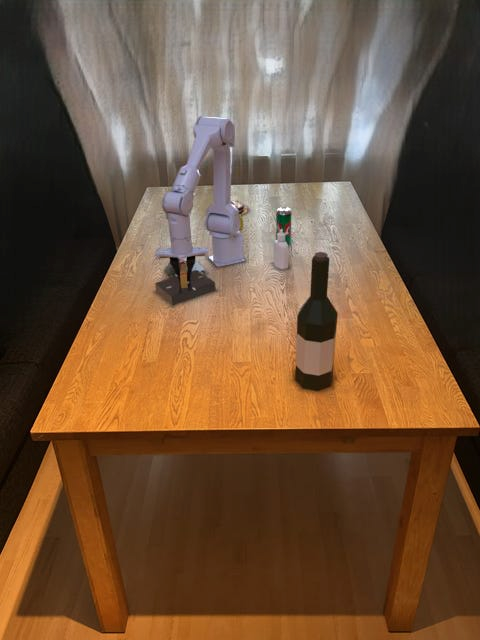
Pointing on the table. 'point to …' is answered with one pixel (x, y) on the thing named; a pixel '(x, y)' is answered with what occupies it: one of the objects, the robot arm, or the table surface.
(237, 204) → the sushi roll
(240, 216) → the lemon
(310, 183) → the table surface
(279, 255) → the eye dropper bottle
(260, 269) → the table surface
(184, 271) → the gold rectangular bar
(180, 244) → the robot arm
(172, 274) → the button box
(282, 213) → the soda can
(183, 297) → the block
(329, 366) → the wine bottle
